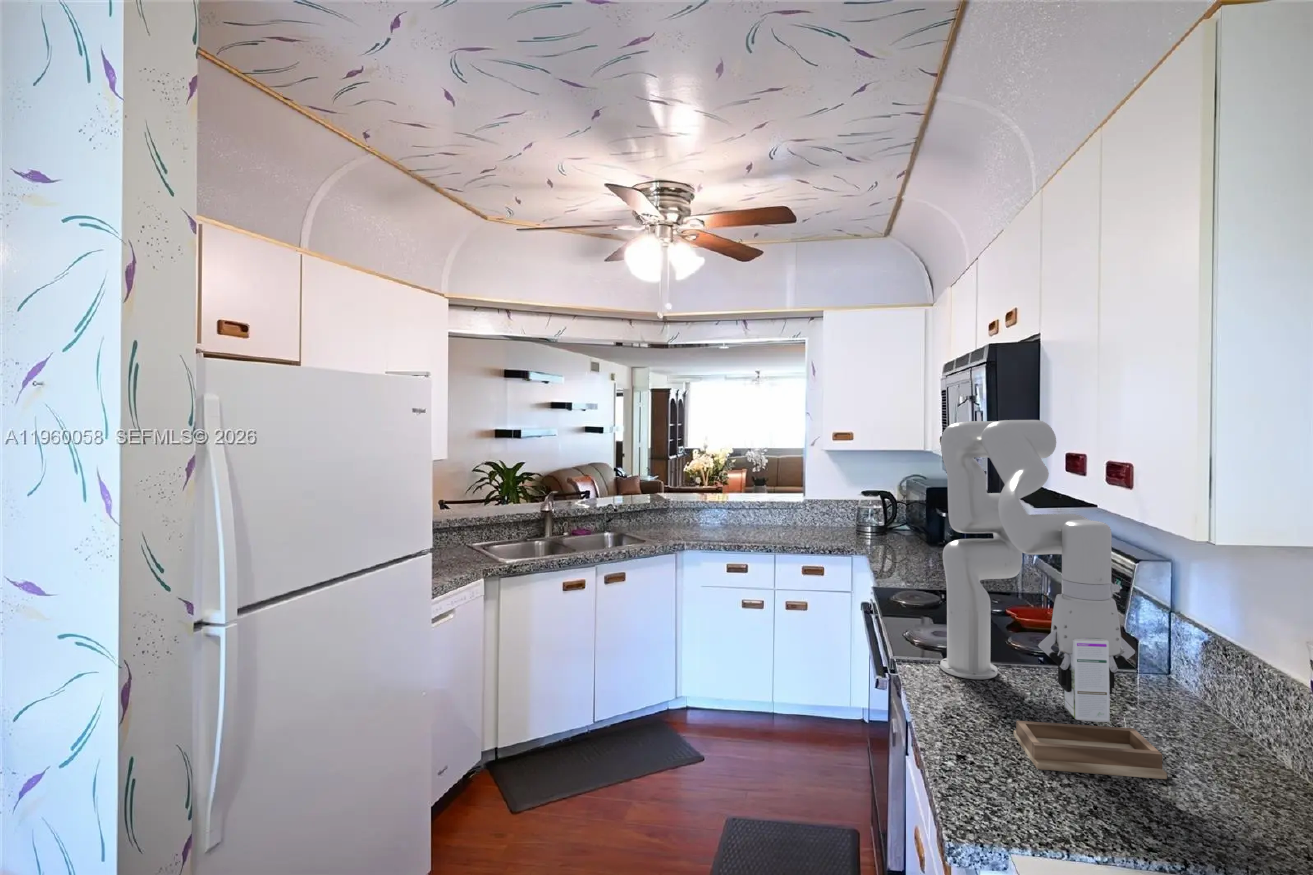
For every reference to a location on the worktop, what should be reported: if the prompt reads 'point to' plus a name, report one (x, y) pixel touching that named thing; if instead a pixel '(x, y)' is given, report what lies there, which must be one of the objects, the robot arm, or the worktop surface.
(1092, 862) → the worktop surface
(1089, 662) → the syrup box
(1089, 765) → the brown wooden tray
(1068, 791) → the worktop surface
